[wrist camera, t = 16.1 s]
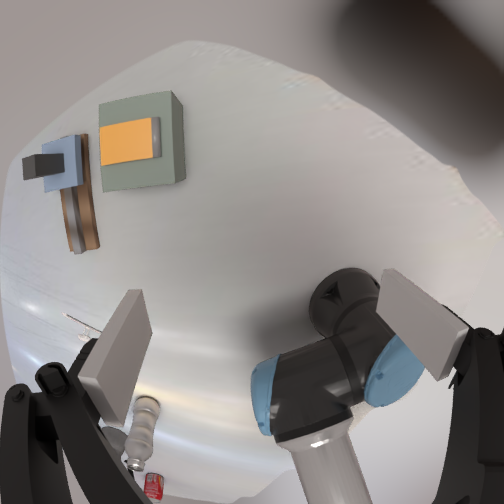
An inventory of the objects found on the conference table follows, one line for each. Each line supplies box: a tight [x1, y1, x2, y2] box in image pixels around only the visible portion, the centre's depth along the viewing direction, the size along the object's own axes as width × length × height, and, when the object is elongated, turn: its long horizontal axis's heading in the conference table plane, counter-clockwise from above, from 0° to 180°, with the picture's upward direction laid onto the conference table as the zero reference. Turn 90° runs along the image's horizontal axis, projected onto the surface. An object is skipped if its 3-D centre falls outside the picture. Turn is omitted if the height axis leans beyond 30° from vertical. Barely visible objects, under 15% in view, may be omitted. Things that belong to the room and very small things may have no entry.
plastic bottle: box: [125, 397, 160, 472], centre depth 47 cm, size 6×7×20 cm
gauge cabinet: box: [99, 91, 186, 193], centre depth 35 cm, size 12×11×10 cm
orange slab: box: [100, 117, 161, 166], centre depth 29 cm, size 5×8×1 cm, turn 92°
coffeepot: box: [102, 427, 135, 480], centre depth 53 cm, size 15×9×18 cm, turn 49°
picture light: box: [62, 313, 102, 342], centre depth 48 cm, size 14×4×2 cm, turn 64°
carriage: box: [22, 135, 83, 193], centre depth 31 cm, size 8×7×12 cm
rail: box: [60, 134, 100, 254], centre depth 38 cm, size 20×6×4 cm, turn 2°
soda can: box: [144, 473, 164, 503], centre depth 66 cm, size 7×7×12 cm
